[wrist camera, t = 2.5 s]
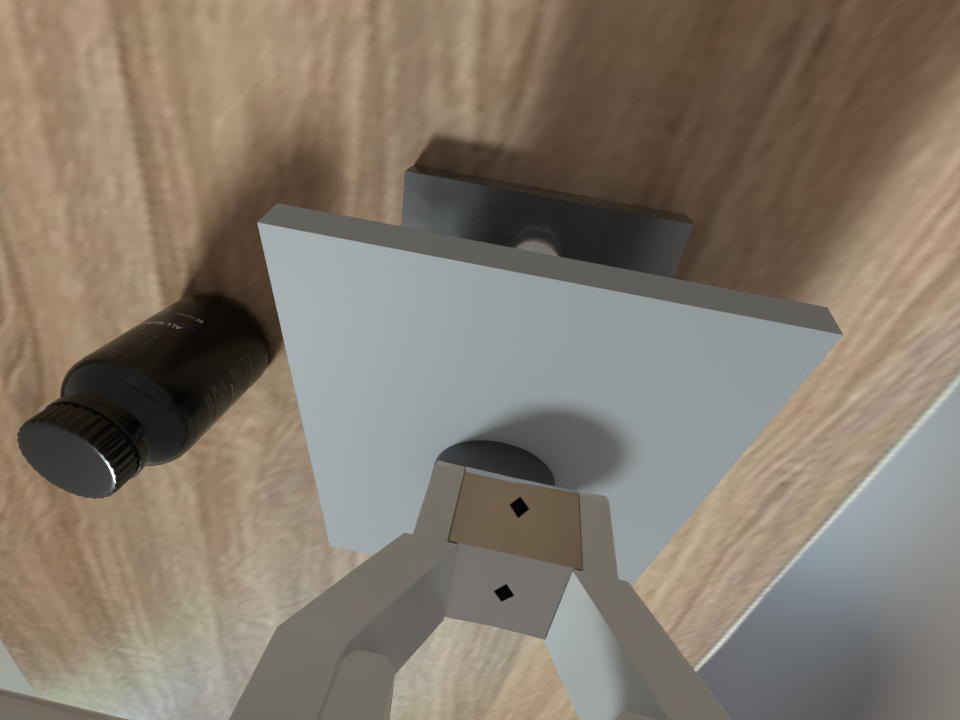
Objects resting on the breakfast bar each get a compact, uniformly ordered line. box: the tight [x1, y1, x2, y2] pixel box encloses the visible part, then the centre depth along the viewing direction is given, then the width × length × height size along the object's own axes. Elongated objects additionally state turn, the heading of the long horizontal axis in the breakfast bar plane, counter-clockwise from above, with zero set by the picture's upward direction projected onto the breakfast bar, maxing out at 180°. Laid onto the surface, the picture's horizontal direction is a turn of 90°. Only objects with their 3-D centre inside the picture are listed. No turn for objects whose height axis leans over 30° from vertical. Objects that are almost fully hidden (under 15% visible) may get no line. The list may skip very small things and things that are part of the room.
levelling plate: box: [257, 203, 843, 586], centre depth 19 cm, size 20×16×6 cm
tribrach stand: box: [402, 165, 694, 278], centre depth 26 cm, size 18×14×9 cm
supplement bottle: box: [17, 294, 269, 499], centre depth 27 cm, size 7×7×12 cm
